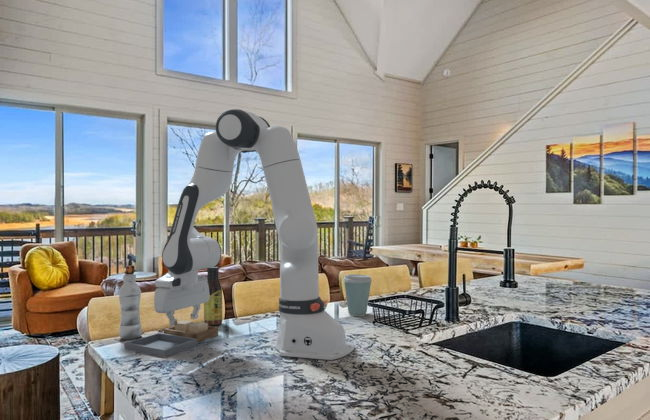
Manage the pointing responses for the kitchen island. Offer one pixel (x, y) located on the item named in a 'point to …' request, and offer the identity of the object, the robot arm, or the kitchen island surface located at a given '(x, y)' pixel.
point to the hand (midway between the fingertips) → (184, 321)
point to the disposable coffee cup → (357, 293)
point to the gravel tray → (161, 344)
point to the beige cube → (183, 325)
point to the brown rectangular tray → (200, 336)
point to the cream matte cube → (198, 327)
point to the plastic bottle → (130, 308)
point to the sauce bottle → (213, 298)
